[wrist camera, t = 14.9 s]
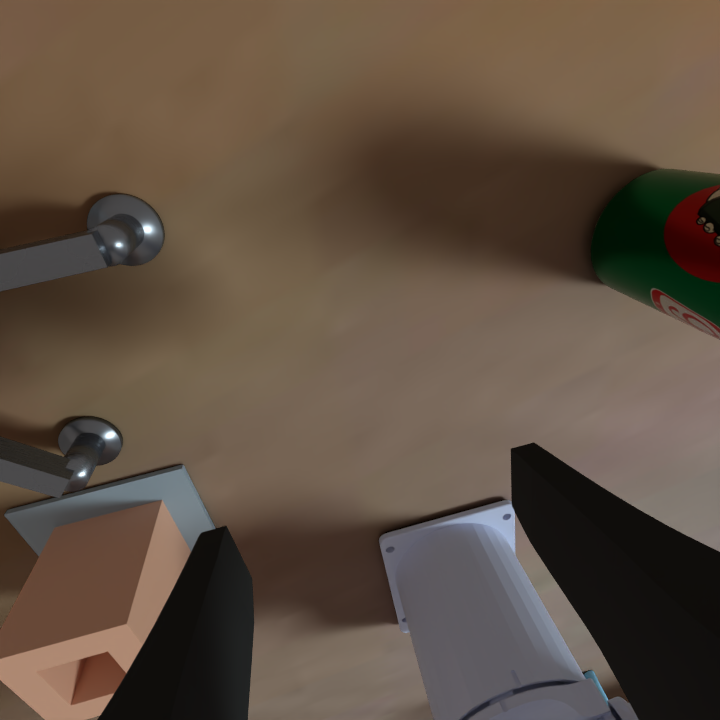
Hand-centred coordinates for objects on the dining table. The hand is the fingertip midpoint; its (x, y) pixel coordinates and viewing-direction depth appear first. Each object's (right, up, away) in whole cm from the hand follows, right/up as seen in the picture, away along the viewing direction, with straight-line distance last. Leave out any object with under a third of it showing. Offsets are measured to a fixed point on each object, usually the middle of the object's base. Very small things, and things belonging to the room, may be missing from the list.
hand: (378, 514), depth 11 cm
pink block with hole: (-12, -6, +11) cm, 17 cm away
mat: (-12, -5, +11) cm, 17 cm away
